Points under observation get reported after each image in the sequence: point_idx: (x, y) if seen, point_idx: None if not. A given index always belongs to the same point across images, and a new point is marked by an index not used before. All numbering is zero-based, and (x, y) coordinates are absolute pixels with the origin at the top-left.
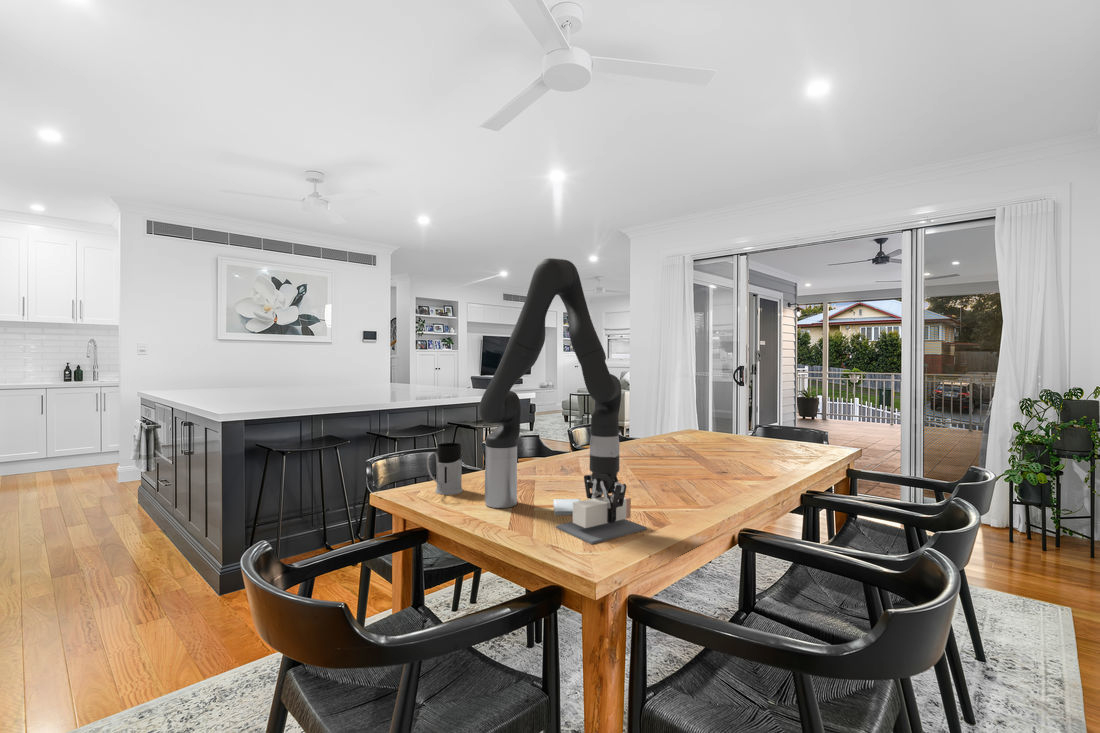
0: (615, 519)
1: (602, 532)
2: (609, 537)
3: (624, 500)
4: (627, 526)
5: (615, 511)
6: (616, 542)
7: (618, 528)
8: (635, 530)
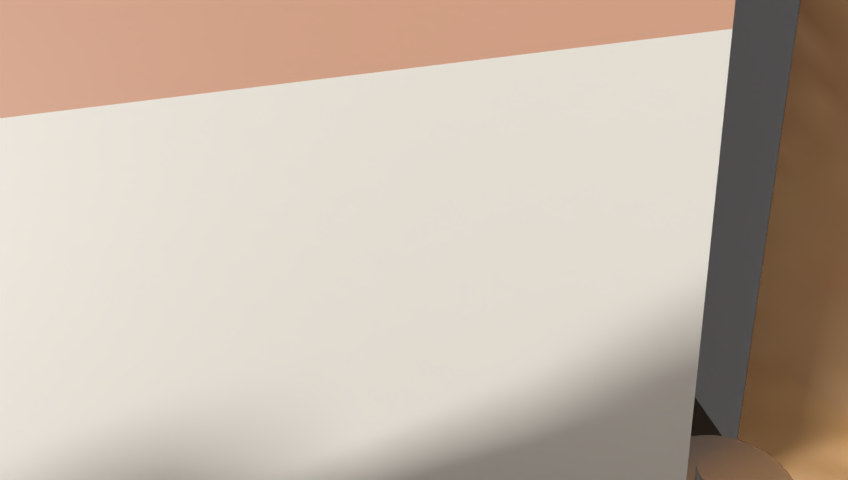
0: None
1: None
2: (736, 434)
3: (701, 142)
4: None
5: (701, 425)
6: (826, 397)
7: None
8: (796, 8)
